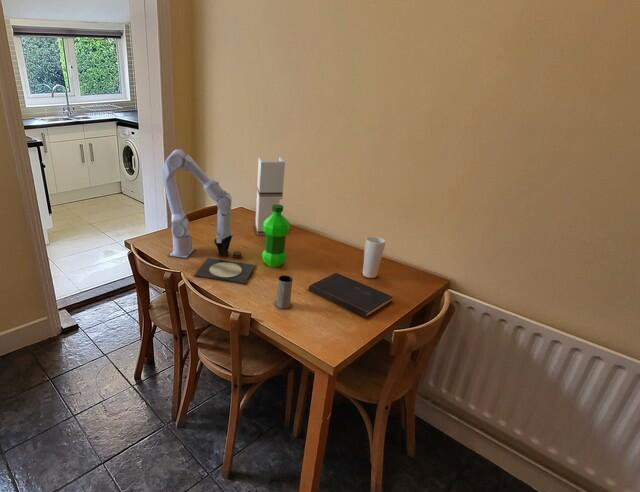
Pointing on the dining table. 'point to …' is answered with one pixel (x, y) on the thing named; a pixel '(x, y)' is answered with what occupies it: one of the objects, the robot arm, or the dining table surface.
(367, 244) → the drinking glass
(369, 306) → the hardcover book
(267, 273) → the dining table surface
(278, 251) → the plastic bottle
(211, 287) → the dining table surface
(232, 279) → the board
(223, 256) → the eye left
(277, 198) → the white rectangular tower
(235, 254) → the eye right
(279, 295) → the grey metal cylinder
